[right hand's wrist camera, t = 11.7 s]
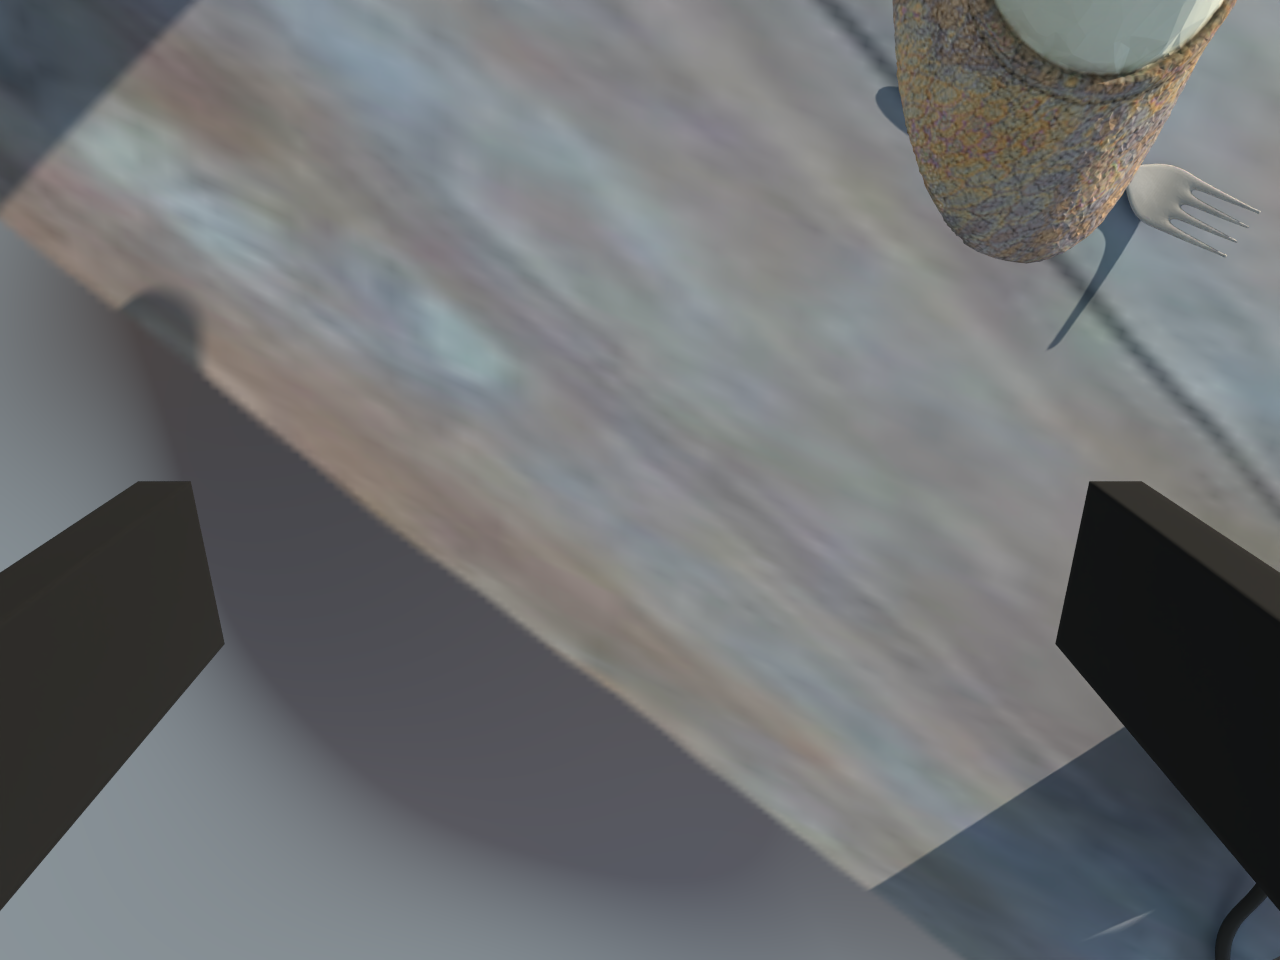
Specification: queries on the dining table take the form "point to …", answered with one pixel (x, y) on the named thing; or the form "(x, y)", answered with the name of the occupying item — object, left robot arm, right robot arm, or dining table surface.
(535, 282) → the dining table surface
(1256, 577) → the right robot arm
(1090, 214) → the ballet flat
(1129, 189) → the fork
